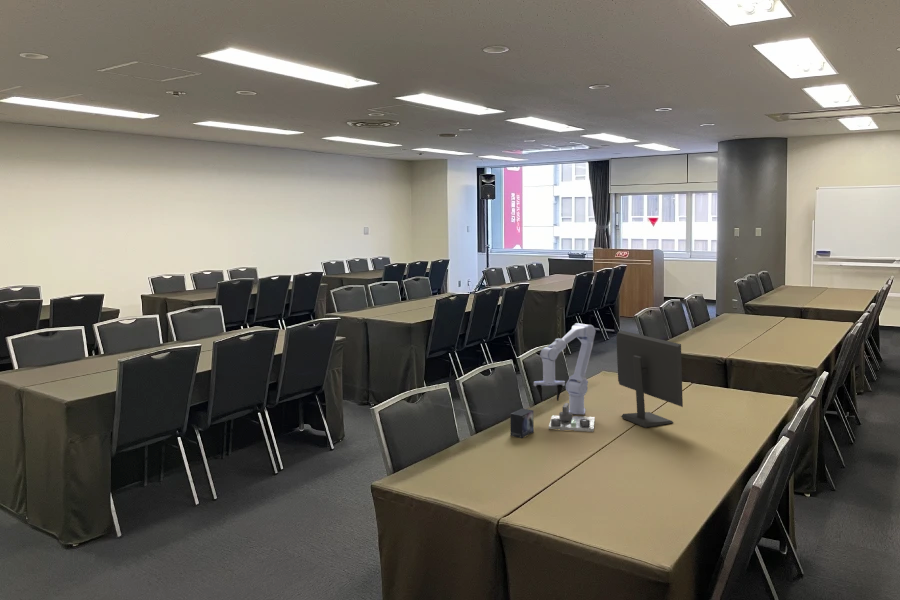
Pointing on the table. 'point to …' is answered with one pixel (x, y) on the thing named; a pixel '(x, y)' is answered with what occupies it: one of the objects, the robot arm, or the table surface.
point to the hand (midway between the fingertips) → (549, 400)
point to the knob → (565, 413)
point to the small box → (521, 423)
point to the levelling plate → (578, 428)
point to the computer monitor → (649, 373)
